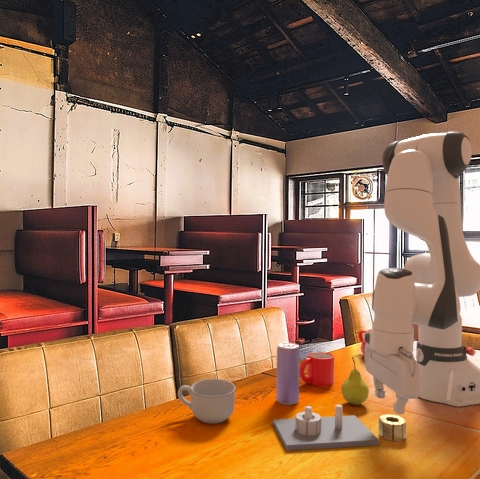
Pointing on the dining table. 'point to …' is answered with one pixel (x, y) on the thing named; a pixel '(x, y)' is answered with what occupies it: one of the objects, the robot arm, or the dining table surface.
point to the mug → (318, 369)
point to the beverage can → (287, 373)
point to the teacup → (210, 399)
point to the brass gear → (392, 427)
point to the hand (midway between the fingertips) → (388, 404)
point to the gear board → (323, 431)
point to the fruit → (355, 388)
